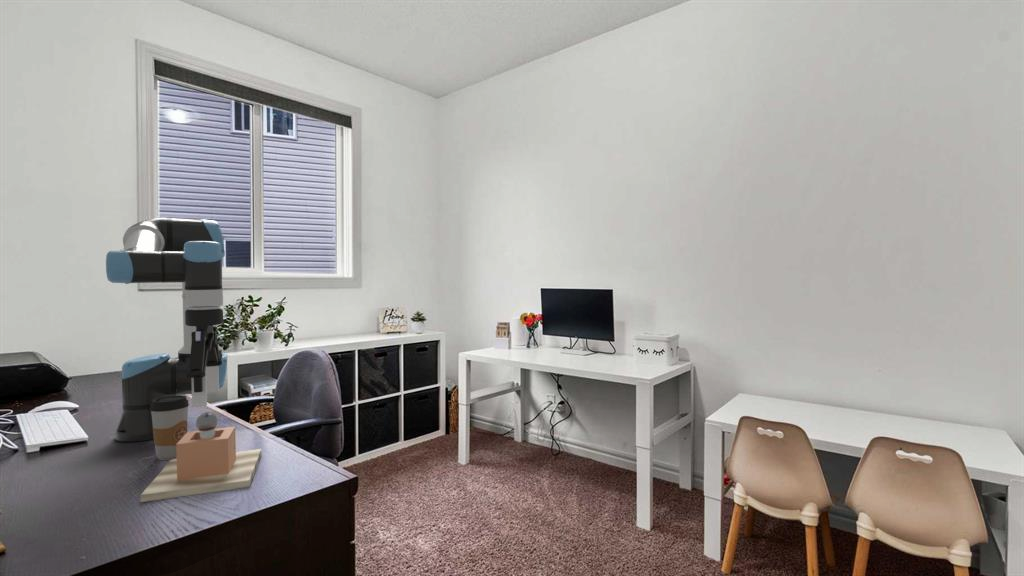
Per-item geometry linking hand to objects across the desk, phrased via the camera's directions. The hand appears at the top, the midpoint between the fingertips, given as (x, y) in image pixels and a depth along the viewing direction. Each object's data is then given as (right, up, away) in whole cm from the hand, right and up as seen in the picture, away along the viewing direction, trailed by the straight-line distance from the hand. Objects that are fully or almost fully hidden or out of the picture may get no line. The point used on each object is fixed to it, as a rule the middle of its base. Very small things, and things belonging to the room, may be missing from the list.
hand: (206, 399), depth 117 cm
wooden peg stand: (0, -18, 0) cm, 18 cm away
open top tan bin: (0, -16, 0) cm, 16 cm away
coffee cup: (-18, -18, +14) cm, 29 cm away
